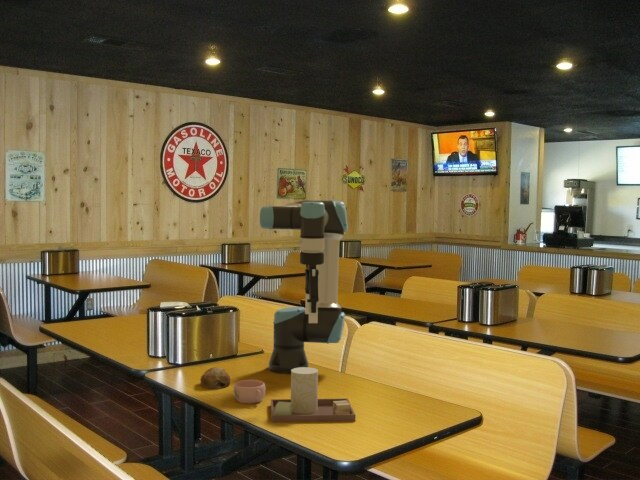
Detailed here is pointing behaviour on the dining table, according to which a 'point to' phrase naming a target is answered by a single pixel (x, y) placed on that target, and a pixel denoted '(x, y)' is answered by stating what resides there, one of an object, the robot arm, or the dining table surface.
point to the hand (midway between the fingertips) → (311, 318)
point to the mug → (249, 391)
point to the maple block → (341, 407)
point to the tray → (321, 415)
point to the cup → (304, 390)
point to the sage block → (284, 408)
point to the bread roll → (215, 378)
